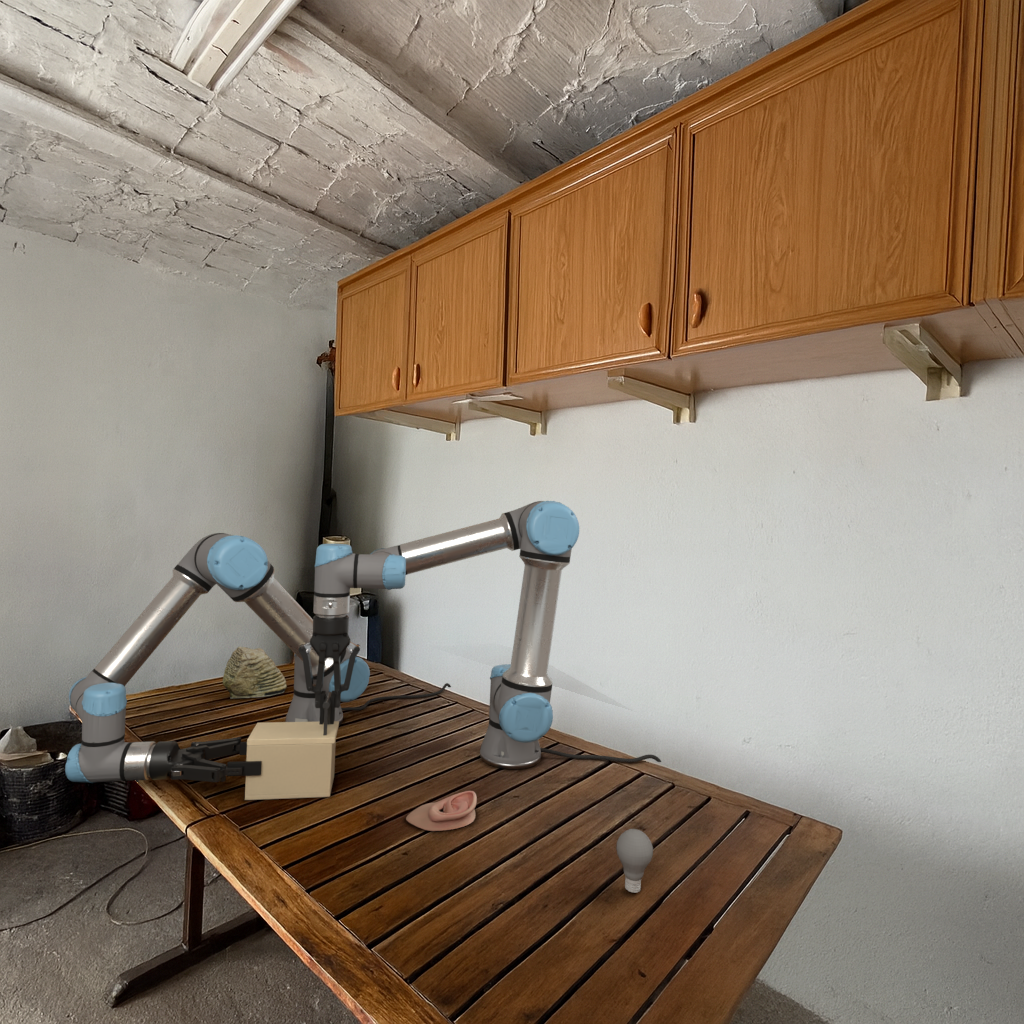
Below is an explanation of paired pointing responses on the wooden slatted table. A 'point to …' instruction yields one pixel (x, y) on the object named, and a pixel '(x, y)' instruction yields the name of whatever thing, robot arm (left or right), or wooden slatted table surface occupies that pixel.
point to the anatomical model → (445, 813)
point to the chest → (291, 771)
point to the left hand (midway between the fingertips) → (266, 757)
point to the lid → (296, 731)
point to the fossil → (252, 674)
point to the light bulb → (634, 857)
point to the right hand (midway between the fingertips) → (327, 722)
